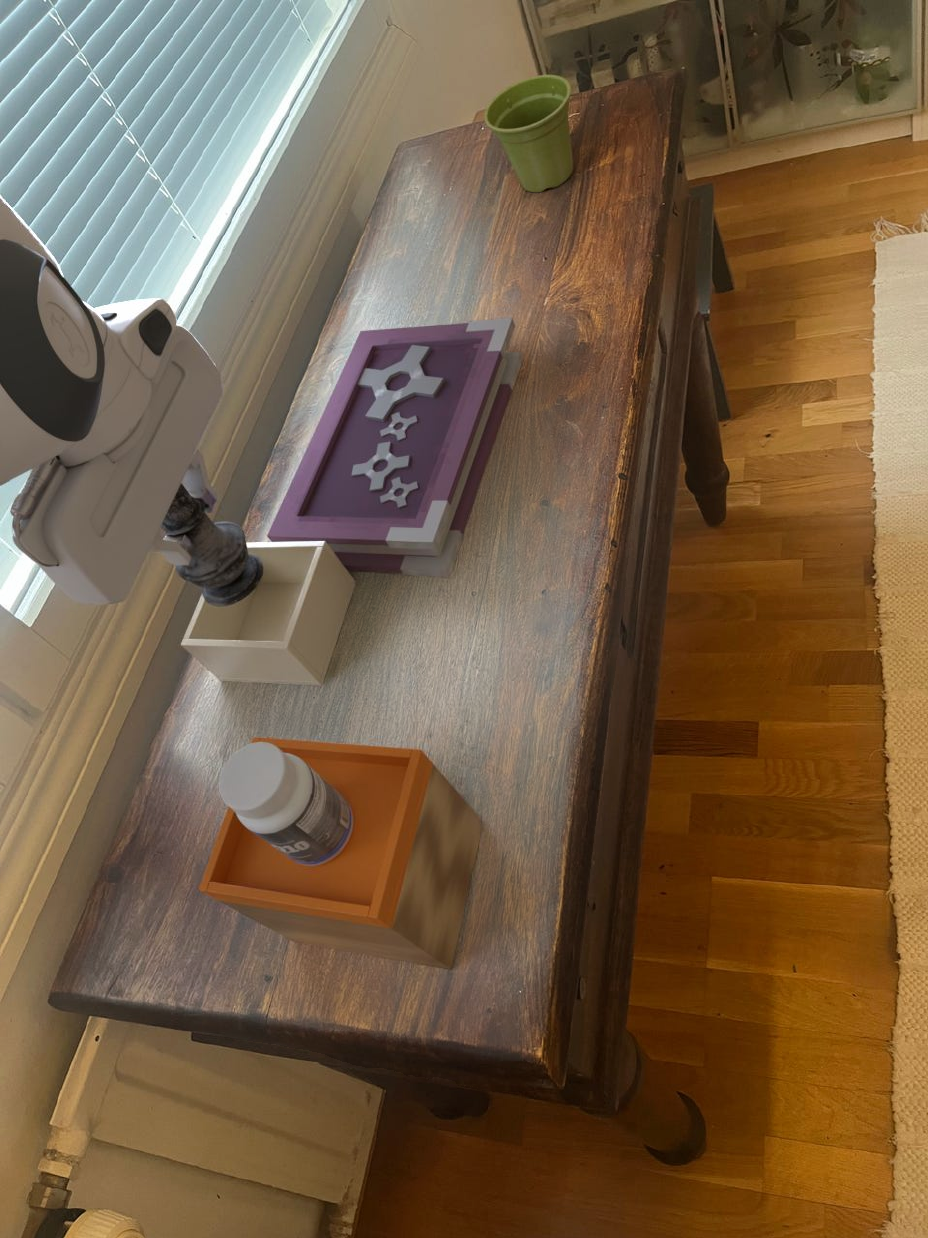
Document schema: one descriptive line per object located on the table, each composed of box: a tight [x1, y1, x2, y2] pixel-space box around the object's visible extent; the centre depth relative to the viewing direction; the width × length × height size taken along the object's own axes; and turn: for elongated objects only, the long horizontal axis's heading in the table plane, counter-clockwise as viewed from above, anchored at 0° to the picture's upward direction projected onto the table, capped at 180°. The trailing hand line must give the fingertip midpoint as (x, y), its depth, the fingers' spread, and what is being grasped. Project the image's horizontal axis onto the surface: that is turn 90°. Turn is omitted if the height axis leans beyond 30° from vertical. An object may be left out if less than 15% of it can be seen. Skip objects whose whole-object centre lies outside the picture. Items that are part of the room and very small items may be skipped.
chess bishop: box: [161, 482, 263, 607], centre depth 68 cm, size 6×6×12 cm
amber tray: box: [198, 736, 434, 928], centre depth 56 cm, size 10×12×2 cm
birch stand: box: [217, 763, 484, 971], centre depth 61 cm, size 10×12×10 cm
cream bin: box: [180, 541, 357, 687], centre depth 78 cm, size 10×10×6 cm
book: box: [266, 317, 524, 578], centre depth 84 cm, size 25×16×5 cm, turn 163°
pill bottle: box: [218, 742, 354, 866], centre depth 53 cm, size 5×5×8 cm
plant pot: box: [483, 74, 574, 193], centre depth 101 cm, size 9×9×9 cm
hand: (197, 530), depth 69 cm, fingers closed on chess bishop, 3 cm apart
